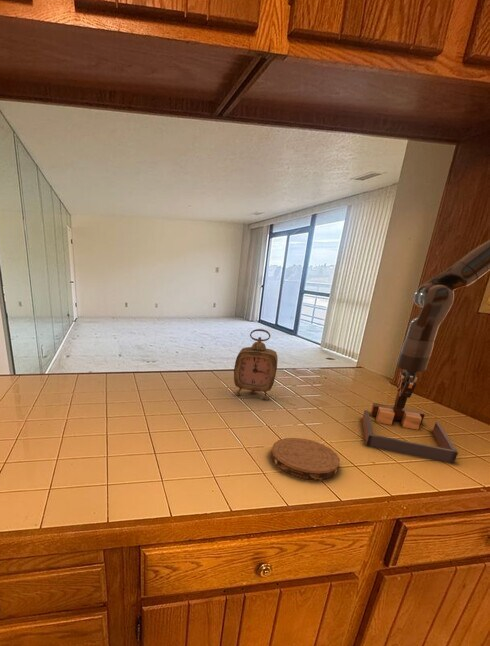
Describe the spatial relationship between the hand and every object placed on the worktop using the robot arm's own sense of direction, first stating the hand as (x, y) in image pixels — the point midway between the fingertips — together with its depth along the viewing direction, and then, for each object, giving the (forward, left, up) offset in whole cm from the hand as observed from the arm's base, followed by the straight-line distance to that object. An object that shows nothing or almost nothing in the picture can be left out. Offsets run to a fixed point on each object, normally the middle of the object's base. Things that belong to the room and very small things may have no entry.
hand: (399, 405), depth 111 cm
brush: (0, 0, -5) cm, 5 cm away
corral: (+5, +14, -5) cm, 15 cm away
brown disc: (+38, +31, -5) cm, 49 cm away
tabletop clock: (+44, -15, -5) cm, 47 cm away
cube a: (+5, +2, -5) cm, 7 cm away
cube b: (-2, +5, -5) cm, 7 cm away
